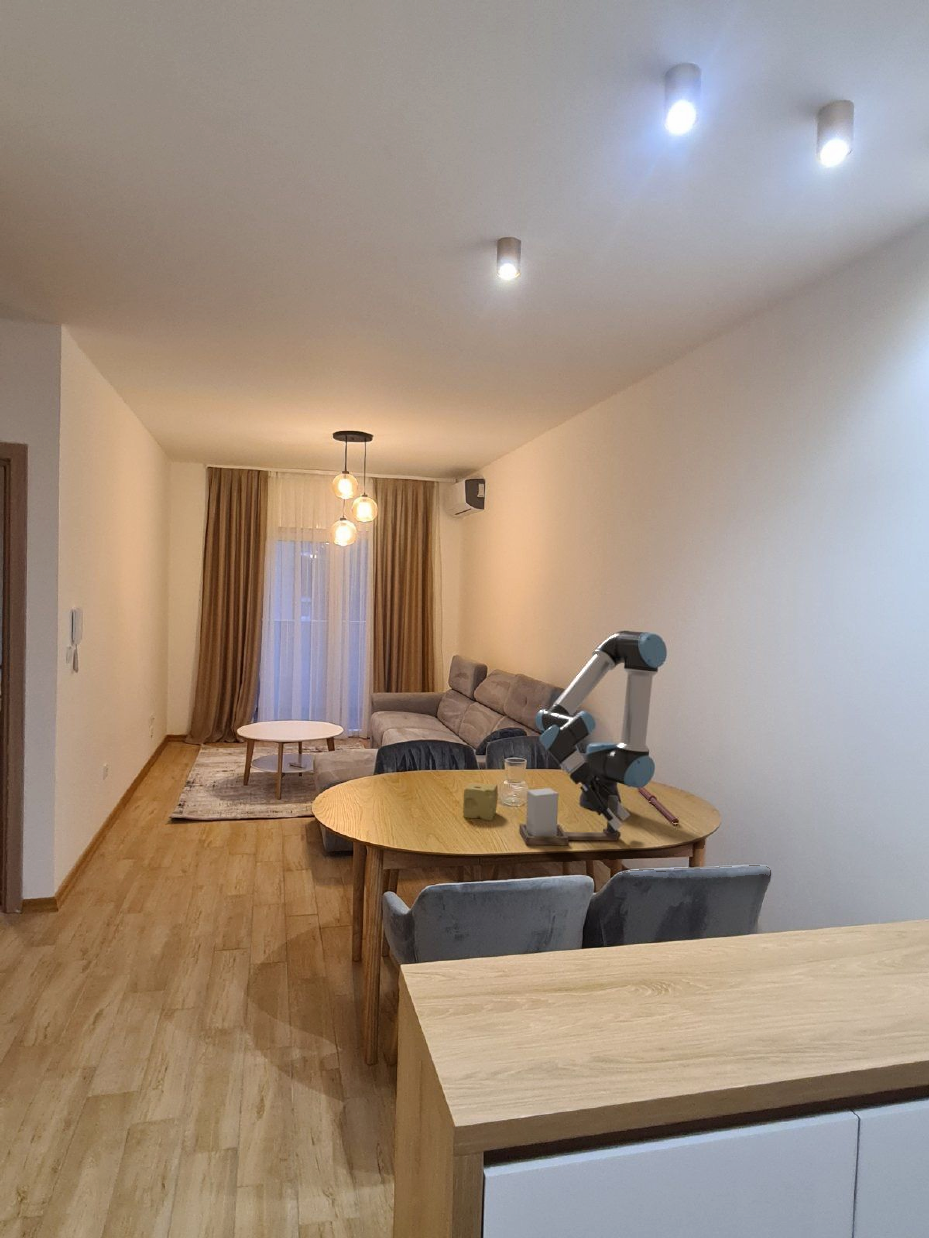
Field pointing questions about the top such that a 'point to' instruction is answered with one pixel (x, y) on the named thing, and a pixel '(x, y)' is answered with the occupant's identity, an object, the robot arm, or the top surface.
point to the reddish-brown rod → (658, 805)
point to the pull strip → (565, 836)
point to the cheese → (480, 801)
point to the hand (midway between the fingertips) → (623, 822)
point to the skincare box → (542, 812)
